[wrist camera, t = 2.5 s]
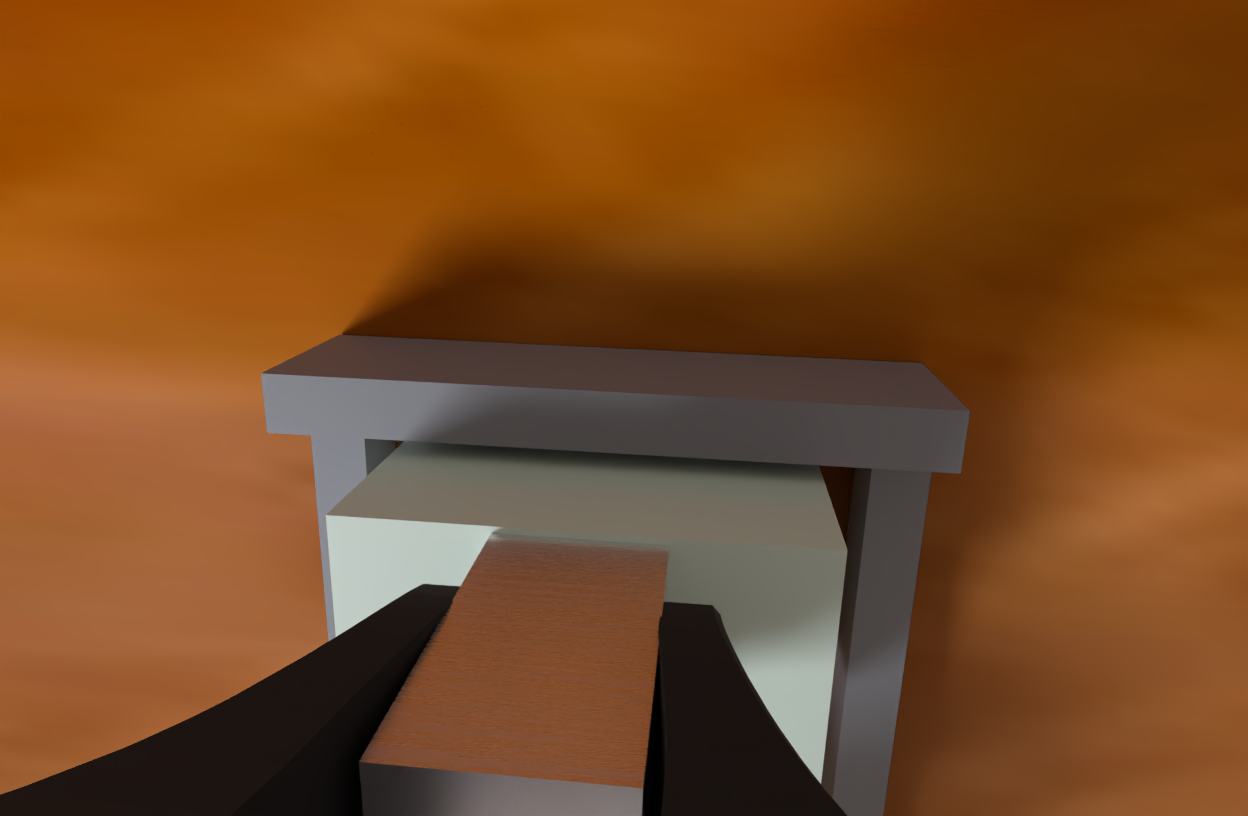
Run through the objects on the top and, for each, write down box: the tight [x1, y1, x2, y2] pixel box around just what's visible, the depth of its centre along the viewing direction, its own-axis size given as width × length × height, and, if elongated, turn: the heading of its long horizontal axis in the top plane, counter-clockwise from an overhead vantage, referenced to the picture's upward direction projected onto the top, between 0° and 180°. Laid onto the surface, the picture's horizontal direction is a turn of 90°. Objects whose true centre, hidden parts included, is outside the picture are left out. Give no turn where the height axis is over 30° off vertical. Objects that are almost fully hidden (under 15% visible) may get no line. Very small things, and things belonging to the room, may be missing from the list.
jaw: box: [326, 441, 848, 816], centre depth 12 cm, size 7×5×10 cm
